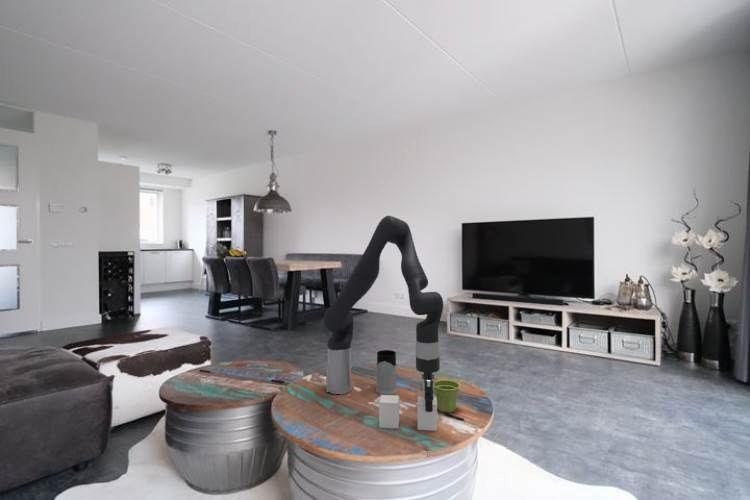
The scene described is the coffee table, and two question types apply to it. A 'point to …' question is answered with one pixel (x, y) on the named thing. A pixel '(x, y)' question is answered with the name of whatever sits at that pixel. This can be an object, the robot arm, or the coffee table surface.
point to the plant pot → (446, 394)
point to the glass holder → (386, 372)
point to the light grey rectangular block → (427, 415)
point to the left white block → (389, 411)
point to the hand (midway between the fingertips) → (428, 405)
